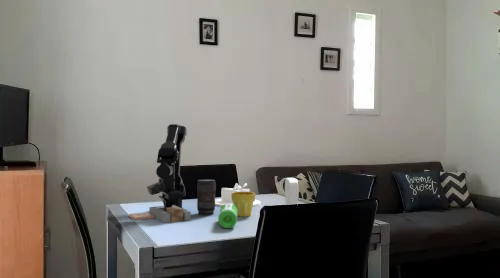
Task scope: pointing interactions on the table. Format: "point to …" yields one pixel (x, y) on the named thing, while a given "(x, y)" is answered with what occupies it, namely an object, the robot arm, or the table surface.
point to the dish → (228, 192)
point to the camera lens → (206, 197)
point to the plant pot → (243, 202)
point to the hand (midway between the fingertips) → (167, 212)
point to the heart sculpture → (291, 191)
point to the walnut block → (175, 213)
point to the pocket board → (167, 214)
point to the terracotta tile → (141, 216)
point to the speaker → (228, 215)
